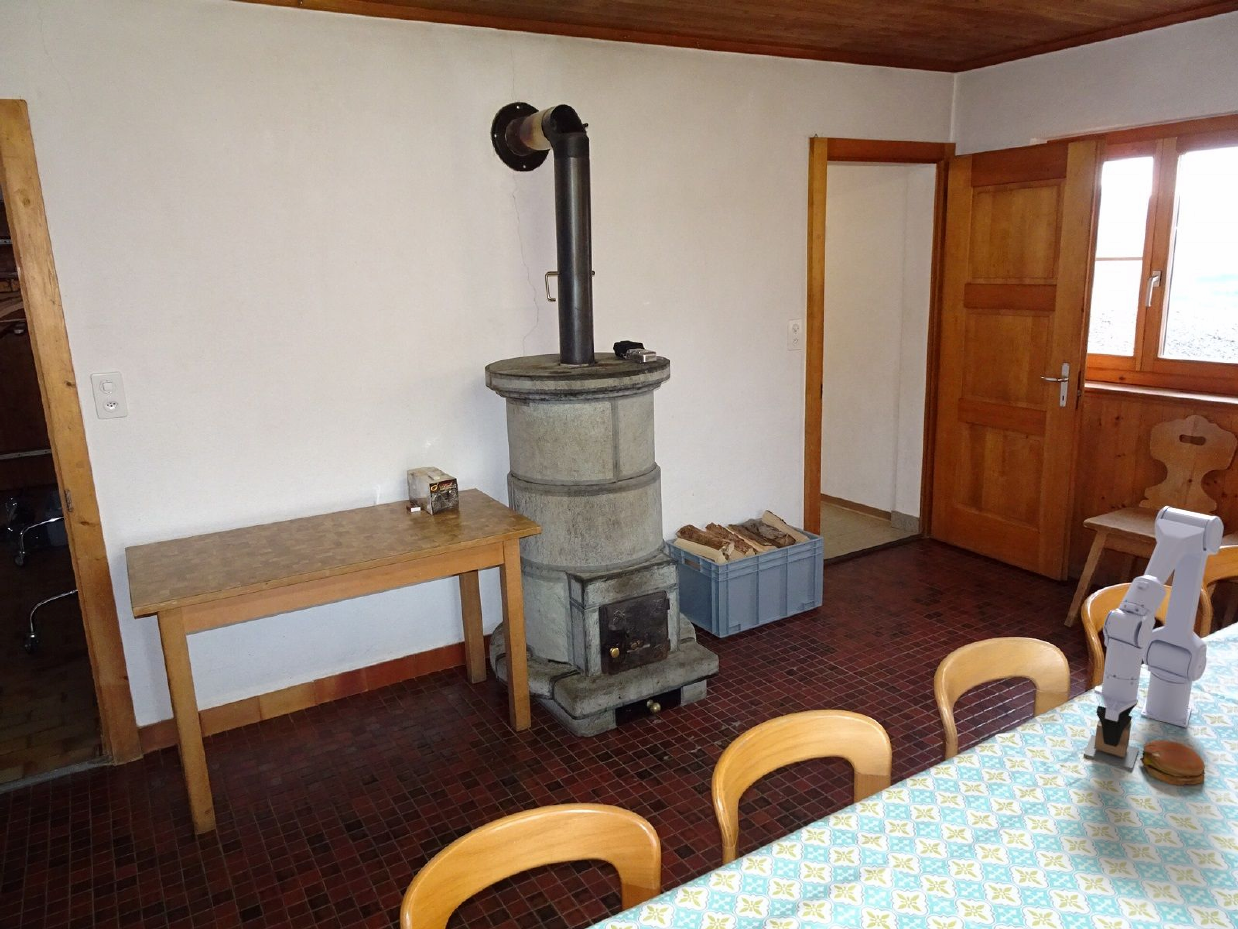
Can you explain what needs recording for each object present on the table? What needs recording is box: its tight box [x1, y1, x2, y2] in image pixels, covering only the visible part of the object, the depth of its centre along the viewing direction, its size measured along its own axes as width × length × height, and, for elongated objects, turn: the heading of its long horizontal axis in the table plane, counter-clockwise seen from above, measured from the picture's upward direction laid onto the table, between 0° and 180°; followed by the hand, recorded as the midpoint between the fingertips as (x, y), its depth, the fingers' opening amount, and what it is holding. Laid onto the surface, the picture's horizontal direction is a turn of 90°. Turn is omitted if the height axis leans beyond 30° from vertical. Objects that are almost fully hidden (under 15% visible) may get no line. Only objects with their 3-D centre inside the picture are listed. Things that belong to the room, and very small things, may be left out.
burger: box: [1139, 739, 1206, 786], centre depth 158 cm, size 10×9×5 cm
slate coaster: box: [1083, 734, 1140, 772], centre depth 165 cm, size 8×8×1 cm
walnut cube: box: [1094, 718, 1133, 757], centre depth 164 cm, size 5×5×5 cm
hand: (1113, 737), depth 164 cm, fingers closed on walnut cube, 5 cm apart
